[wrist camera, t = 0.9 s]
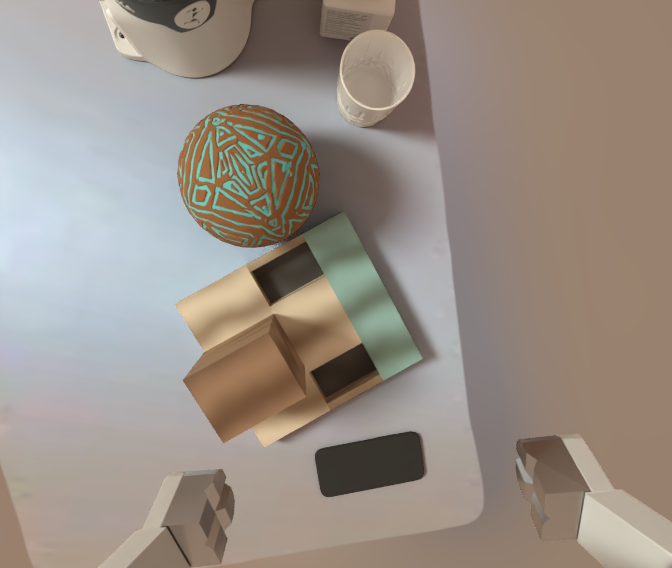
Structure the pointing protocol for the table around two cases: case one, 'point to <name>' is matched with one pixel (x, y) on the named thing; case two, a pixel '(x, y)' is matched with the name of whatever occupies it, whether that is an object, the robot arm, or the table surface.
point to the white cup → (374, 77)
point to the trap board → (311, 318)
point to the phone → (369, 464)
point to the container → (355, 17)
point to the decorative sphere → (248, 175)
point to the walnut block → (247, 378)
